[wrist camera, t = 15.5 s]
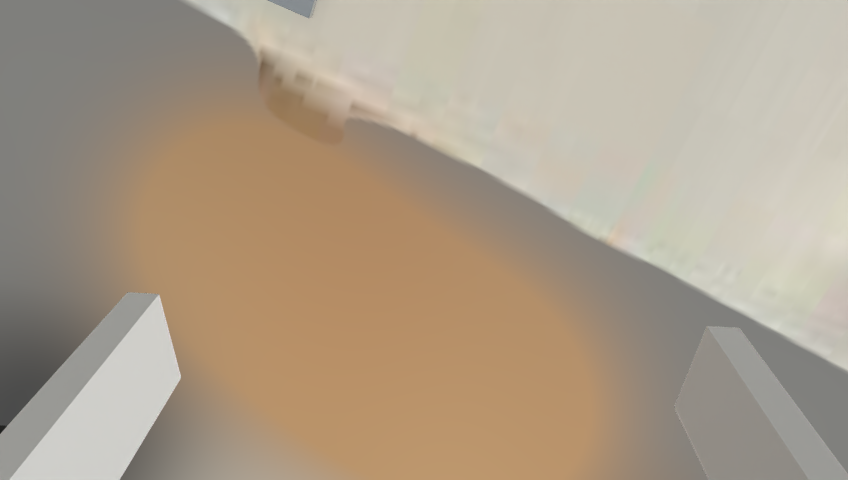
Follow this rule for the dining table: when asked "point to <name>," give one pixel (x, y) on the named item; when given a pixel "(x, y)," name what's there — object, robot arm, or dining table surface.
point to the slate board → (298, 6)
